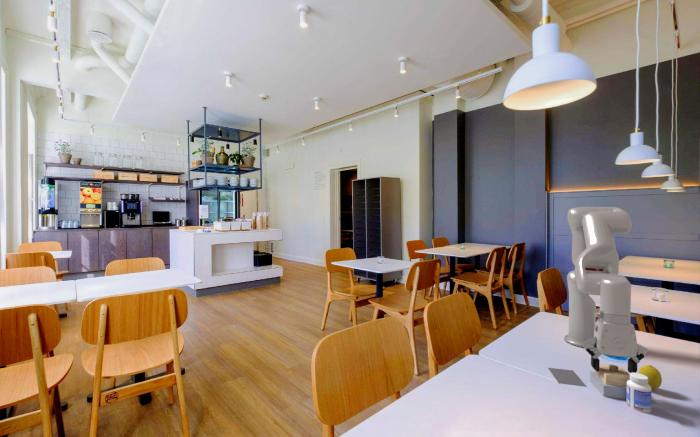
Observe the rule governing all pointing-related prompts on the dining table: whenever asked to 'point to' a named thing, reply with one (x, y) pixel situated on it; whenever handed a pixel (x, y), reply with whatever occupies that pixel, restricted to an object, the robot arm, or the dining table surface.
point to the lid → (613, 375)
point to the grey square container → (608, 388)
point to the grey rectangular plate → (566, 377)
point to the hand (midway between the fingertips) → (613, 371)
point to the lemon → (651, 376)
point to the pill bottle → (639, 393)
